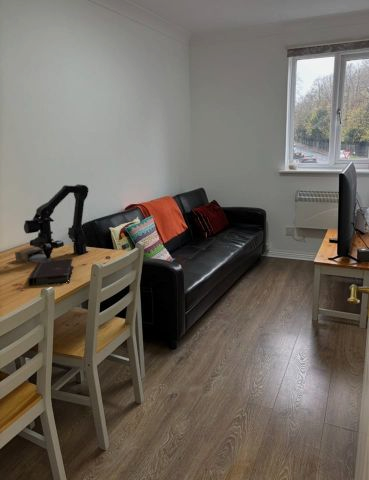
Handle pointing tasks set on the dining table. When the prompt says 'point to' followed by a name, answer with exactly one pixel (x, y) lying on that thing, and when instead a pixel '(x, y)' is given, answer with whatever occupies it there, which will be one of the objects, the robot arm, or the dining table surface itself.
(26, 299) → the dining table surface
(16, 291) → the dining table surface
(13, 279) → the dining table surface
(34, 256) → the slate tile
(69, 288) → the dining table surface
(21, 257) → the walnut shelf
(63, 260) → the diary
